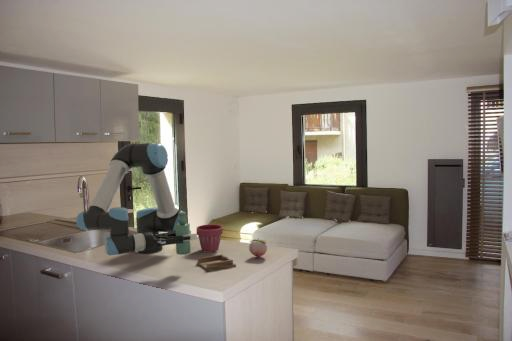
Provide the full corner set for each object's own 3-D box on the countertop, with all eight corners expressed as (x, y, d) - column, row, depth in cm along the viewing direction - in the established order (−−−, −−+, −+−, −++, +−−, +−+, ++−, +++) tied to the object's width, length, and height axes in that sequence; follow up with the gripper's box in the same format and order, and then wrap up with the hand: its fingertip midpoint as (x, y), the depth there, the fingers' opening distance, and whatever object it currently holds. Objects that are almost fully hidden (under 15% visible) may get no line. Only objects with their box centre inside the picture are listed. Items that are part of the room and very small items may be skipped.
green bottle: (174, 252, 185) (172, 212, 184) (187, 249, 188) (186, 210, 187) (179, 255, 180) (177, 214, 178) (192, 253, 183) (191, 212, 182)
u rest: (196, 263, 195) (196, 257, 195) (223, 259, 202) (223, 253, 202) (208, 271, 183) (208, 265, 183) (235, 266, 190) (235, 260, 190)
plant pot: (210, 254, 212) (209, 230, 211) (191, 250, 220) (191, 227, 219) (228, 249, 223) (227, 226, 222) (209, 245, 231) (209, 223, 231)
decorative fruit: (269, 255, 208) (269, 236, 208) (265, 260, 200) (265, 240, 200) (251, 254, 211) (251, 235, 210) (247, 258, 203) (247, 239, 202)
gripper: (138, 245, 183) (186, 238, 195) (149, 255, 167) (201, 247, 178) (137, 229, 183) (186, 223, 194) (149, 237, 166) (201, 230, 177)
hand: (193, 234), depth 186 cm, fingers closed on green bottle, 6 cm apart
